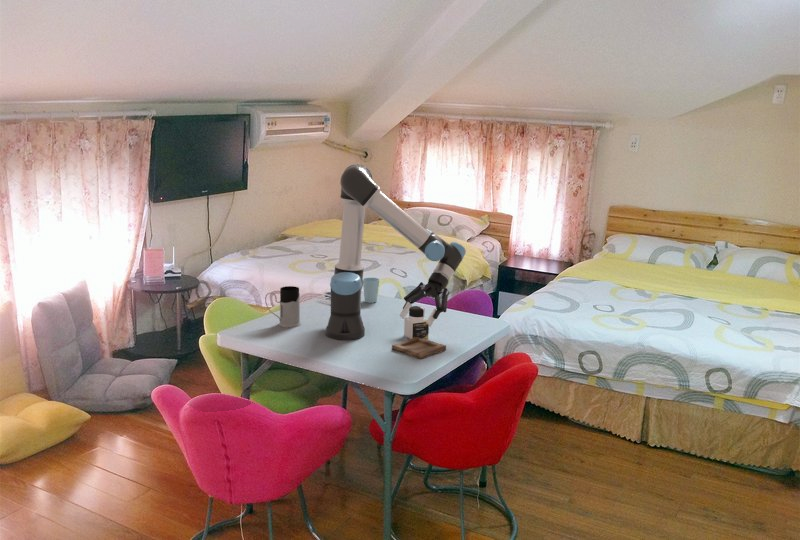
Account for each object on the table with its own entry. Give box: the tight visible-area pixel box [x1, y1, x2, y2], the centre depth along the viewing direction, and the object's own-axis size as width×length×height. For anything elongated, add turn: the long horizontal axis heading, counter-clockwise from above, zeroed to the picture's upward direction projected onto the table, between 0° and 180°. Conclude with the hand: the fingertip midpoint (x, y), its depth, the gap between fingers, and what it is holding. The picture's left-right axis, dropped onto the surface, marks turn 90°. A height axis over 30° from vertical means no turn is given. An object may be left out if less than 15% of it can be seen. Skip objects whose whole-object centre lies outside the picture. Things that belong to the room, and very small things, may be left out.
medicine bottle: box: [403, 305, 430, 339], centre depth 272 cm, size 7×7×12 cm
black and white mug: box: [264, 285, 302, 328], centre depth 282 cm, size 9×14×15 cm, turn 109°
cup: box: [362, 277, 380, 304], centre depth 321 cm, size 8×8×10 cm
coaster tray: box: [391, 337, 447, 360], centre depth 258 cm, size 14×14×2 cm
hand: (414, 320), depth 270 cm, fingers open, 13 cm apart
